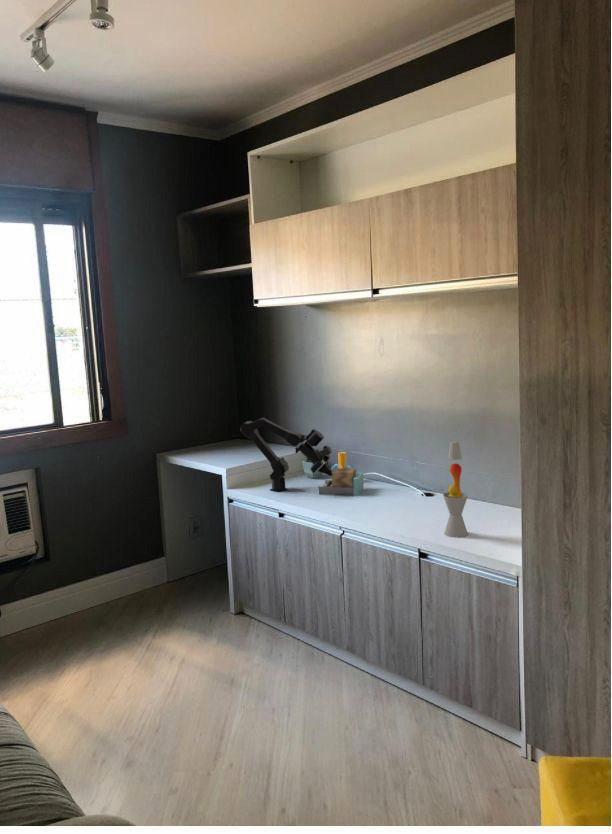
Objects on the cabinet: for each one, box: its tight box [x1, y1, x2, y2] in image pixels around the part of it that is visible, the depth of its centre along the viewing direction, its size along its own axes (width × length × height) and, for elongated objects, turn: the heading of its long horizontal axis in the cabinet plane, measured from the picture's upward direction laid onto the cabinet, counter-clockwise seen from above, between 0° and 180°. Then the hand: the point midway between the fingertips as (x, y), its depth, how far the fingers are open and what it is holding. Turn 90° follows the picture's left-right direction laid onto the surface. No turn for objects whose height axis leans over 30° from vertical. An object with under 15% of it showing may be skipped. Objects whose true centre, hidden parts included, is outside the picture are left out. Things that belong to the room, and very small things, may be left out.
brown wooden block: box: [331, 467, 357, 487], centre depth 321 cm, size 10×9×7 cm
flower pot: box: [302, 459, 323, 479], centre depth 354 cm, size 9×9×9 cm
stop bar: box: [353, 471, 364, 497], centre depth 319 cm, size 2×14×8 cm, turn 164°
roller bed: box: [318, 479, 354, 496], centre depth 322 cm, size 17×14×4 cm
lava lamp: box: [442, 441, 469, 538], centre depth 249 cm, size 9×9×35 cm
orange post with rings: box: [330, 451, 355, 471], centre depth 342 cm, size 12×10×15 cm
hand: (333, 475), depth 322 cm, fingers closed
